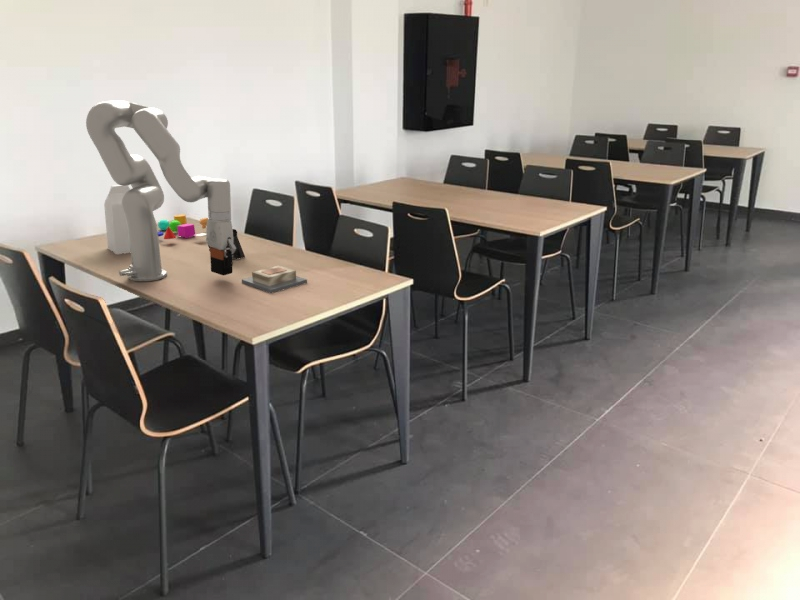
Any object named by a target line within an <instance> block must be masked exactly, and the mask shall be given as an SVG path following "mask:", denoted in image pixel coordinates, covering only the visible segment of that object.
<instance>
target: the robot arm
mask: <svg viewBox="0 0 800 600" xmlns="http://www.w3.org/2000/svg"><path fill="white" fill-rule="evenodd" d="M85 124H86V125H85V126H86V131H87V134H88V135H89V138H90V139H91V141H92V143H93V145H94V146H95V148H96V151H97V152H98V153H99V156H100V158H101V159H102V162H103V163H104V166H105V167H106V169H107V171H108V172H109V173H108V174H109V175H110V176H111V179H112V180H113V181H114V182H115V183H116V184H117V185H122V186H127V185H128V186H131V188H130V190H129V191H127V192H126V193H125V195H124V196H123V199H122V207H123V211H124V214H125V218H126V222H127V228H128V235H129V243H130V251H131V253H130V257H131V259H130V260H131V264H130V265H129V266H128V268H127V269H123V270H122V269H121V270H119V271H118V274H119V277H122V276H123V277H125V276H127V277H128V279H129V280H130V281H135V282H153V281H158V280H162V279H164V278H165V277H167V274H168V273H167V270H165V269H162V268H163V267H162V259H161V252H160V241H159V237H158V232H159V231H158V223H157V220H156V218H155V215H154V211H157V210H158V209H159V208H161V207H162V206H163V204H164V202H165V194H164V191H163V189H162V188H163V187H162V186H161V184H160V183H159V181H158V179H157V177H156V175H155V173H154V170H153V169H152V167H151V165H150V164H149V162H148V161H147V159H146V158H144V157H143V156H141V155H139V154H135V153H133V154H130V152H129V151H128V149H127V147H126V144H125V142H124V140H123V139H122V138H121V137H120V136H119V134H118V133H117V132H116V130H115V129H117V128H123V127H124V128H125V127H126V128H130V129H133V130H134V131H135V133H136V134H137V135H138V136H139V138H140V139H141V140H142V142H143V143H144V144H145V145H146V147H147V148H148V149H149V150H150V152H151V153H152V154H153V155H154V157H155V158H156V159H157V161H158V164H159V167H160V170H161V171H162V175H163V177H164V179H165V181H166V182H167V183H168V185H169V186H170V188H171V189H172V190H173V191H174V192H175V194H176V195H177V196H178V198H180V199H182V200H183V201H184V202H186V203H195V202H197V201H200V200H202V199H205V198H207V216H208V217H207V218H208V220H207V226H206V229H205V230H206V235H205V236H206V238H205V242H206V245H207V246H208V249H209V250H208V251H209V252H210V247H213V248H215V249H218V250H223V251H224V256H225V257H223V258H224V268H225V269H227V268H231V267H232V268H233V260H232V257H233V254H234V252H235V250H236V247H235V245H234V244H233V243H234V241H233V229H234V228H233V224H232V209H231V208H232V207H231V206H232V205H231V203H232V202H231V199H232V197H231V183H230V181H229V180H228V179H226V178H215V177H214V178H211V177H207V176H202V175H196V176H192V177H191V176H190V175H189V173H188V172H187V170H186V169H185V168H184V166H183V163H182V160H181V147H180V145H179V143H178V141H177V140H176V139H175V137H173V135H172V134H171V132H169V130H168V126H169V120H168V117H167V115H166V114H165V113H164V112H163V111H162V110H161V109H158V108H155V107H152V106H151V107H150V106H146V105H143V104H139V103H135V102H131V101H126V100H107V101H101V102H98V103H96V104H95V105H94V106H92V107H91V108H90V110H89V111H88V112H87V115H86V120H85ZM226 247H227V248H226ZM226 250H229V251H228V253H227V252H226ZM209 259H210V260H211V258H210V257H209Z"/></svg>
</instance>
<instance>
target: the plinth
mask: <svg viewBox="0 0 800 600" xmlns="http://www.w3.org/2000/svg"><path fill="white" fill-rule="evenodd" d="M296 276H297V271H296V269H293V268H290V267H286V266H283V265H279V264H278V265H274V266H272V267H267V268H263V269H258V270H256V271H252V272H251V277H252V279H253V281H256V282H258V283H261V284H264V285H267V286H271V285H275V284H278V283H282V282H286V281H289V280H293V279H296Z"/></svg>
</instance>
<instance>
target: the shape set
mask: <svg viewBox="0 0 800 600" xmlns="http://www.w3.org/2000/svg"><path fill="white" fill-rule="evenodd" d="M173 219H174V220H172V221H170V222H169V221H168V220H167V219H160V220H159V221H158V223H157V228H158V229H159V230H161V229H162V230H161V231H158V238H159V237H161V236H163V239H164V240H171V239H172V240H173V239H176V238H177V236H176V234H174V233H176V232H177V235H178V236H181V237H185V238H184V239H188V238H187V237H189V238H193V237H192V236H194V237H197V236H198V237H202V236H206V233H205V232H201V233H197V234H196V229H195V224H191V223H188V222H187V215H186V214H177V215H173ZM207 220H208V217H203V218H200V220H199V221H198V222H199V224H200V225H201V226H202V227H201V228H202V230H204V229H205V230H206V229H207ZM166 229H167V230H166ZM163 231H165V234H164V232H163Z"/></svg>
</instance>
